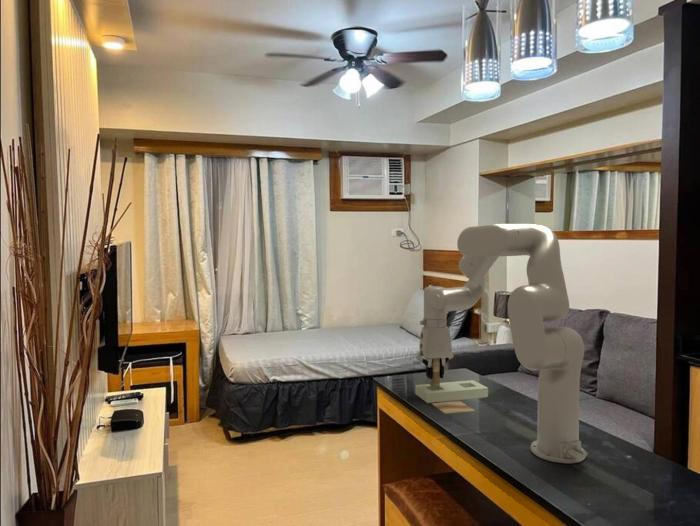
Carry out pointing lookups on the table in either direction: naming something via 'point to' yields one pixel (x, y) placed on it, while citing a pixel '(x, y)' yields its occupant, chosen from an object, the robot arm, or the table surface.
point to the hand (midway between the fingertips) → (435, 377)
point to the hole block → (451, 391)
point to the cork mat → (452, 407)
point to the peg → (435, 372)
